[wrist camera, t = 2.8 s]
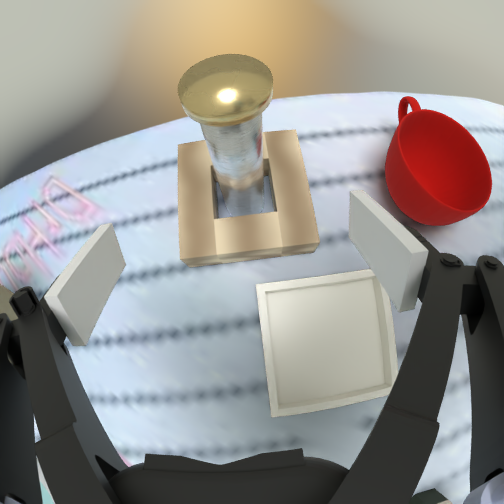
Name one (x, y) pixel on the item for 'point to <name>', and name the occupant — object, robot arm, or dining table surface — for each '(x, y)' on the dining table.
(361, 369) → the tray
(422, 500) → the wine bottle
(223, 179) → the pin
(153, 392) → the dining table surface
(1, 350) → the robot arm
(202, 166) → the socket block
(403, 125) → the ceramic cup
